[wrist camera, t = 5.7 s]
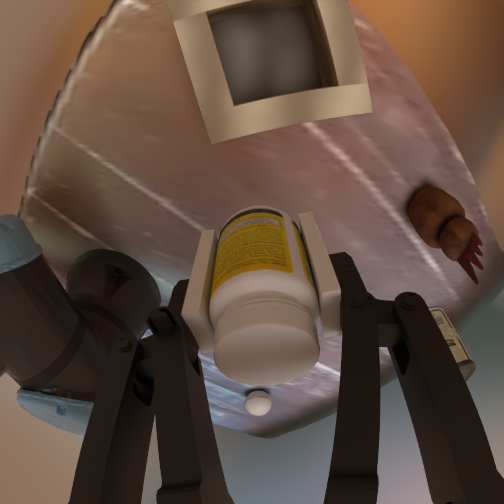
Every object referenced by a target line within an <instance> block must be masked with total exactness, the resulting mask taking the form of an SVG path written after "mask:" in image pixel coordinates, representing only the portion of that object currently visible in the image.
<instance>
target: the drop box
mask: <svg viewBox="0 0 504 504" xmlns="http://www.w3.org/2000/svg"><path fill="white" fill-rule="evenodd" d="M167 2H168V6H169V9H170V12H171V16H172V19H173V22H174V26H175V29H176V32H177V35H178V39H179V42H180V45H181V49H182V52H183V55H184V58H185V62H186V65H187V68H188V71H189V75H190V78H191V81H192V84H193V88H194V91H195V94H196V97H197V101H198V104H199V107H200V110H201V113H202V117H203V120H204V123H205V126H206V130H207V133H208V136H209V139H210V142H211V145H212V144H216V143H219V142H223V141H227V140H230V139H234V138H238V137H242V136H246V135H250V134H254V133H258V132H262V131H267V130H271V129H276V128H280V127H285V126H290V125H295V124H300V123H305V122H311V121H316V120H322V119H328V118H334V117H341V116H348V115H355V114H363V113H371V112H372V106H371V100H370V94H369V88H368V82H367V77H366V72H365V67H364V62H363V57H362V53H361V49H360V44H359V40H358V36H357V32H356V28H355V25H354V21H353V17H352V14H351V10H350V7H349V4H348V1H347V0H167Z"/></svg>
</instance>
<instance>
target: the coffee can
mask: <svg viewBox="0 0 504 504" xmlns="http://www.w3.org/2000/svg"><path fill="white" fill-rule="evenodd" d="M429 310H430V312H431V313H432V315H433V317H434V319H435V321H436V323H437V324H438V326H439V328H440V330H441V332H442V334H443V336H444V338H445V340H446V342H447V344H448V346H449V348H450V350H451V352H452V354H453V356H454V358H455V360H456V362H457V364H458V366H459V369H460V371H461V373H462V375H463V377H464V380H465V382H466V381H467V380H468V379H469V378H470V377H471V376H472V374H473V373H474V371H475V369H476V365H475V363H474V362H473V361H472V359H471V357H470V355H469V353H468V351H467V350H466V348H465V346H464V344H463V342H462V341H461V339H460V337H459V336H458V334H457V332H456V330H455V329H454V327H453V325H452V324H451V322H450V320H449V319H448V317H447V315H446V314H445V311H444V310H443V309H442V308H440V307H432V308H429Z"/></svg>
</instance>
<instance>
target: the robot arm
mask: <svg viewBox="0 0 504 504" xmlns="http://www.w3.org/2000/svg"><path fill="white" fill-rule="evenodd" d="M298 216H299V223H300V230H301V237H302V240H303V244H304V247H305V251H306V254H307V258H308V261H309V265H310V269H311V273H312V276H313V280H314V284H315V288H316V291H317V295H318V300H319V318H320V322H321V327H322V331H323V336H324V338H325V337H330V336H335V335H340V334H341V331H342V334H343V335H342V357H341V374H340V387H339V399H338V409H337V420H336V428H335V436H334V444H333V452H332V458H331V465H330V472H329V477H328V483H327V489H326V494H325V499H324V504H376V502H377V494H378V484H379V482H378V475H377V464H378V451H379V432H380V359H379V347H387V348H388V350H389V353H390V356H391V359H392V361H393V364H394V367H395V370H396V373H397V376H398V379H399V382H400V385H401V388H402V390H403V394H404V397H405V400H406V403H407V406H408V410H409V413H410V416H411V420H412V423H413V427H414V430H415V434H416V437H417V441H418V445H419V448H420V452H421V456H422V460H423V465H424V469H425V473H426V478H427V482H428V487H429V491H430V495H431V498H432V501H433V504H504V479H503V477H502V476H501V475H500V473H499V472H498V471H497V469H496V465H495V462H494V458H493V455H492V452H491V449H490V446H489V442H488V440H487V436H486V433H485V431H484V428H483V425H482V422H481V419H480V417H479V414H478V411H477V409H476V406H475V404H474V401H473V399H472V397H471V394H470V392H469V389H468V387H467V384H466V382H465V380H464V377H463V375H462V373H461V371H460V369H459V366H458V364H457V362H456V360H455V358H454V356H453V354H452V352H451V350H450V348H449V346H448V344H447V342H446V340H445V338H444V336H443V334H442V332H441V330H440V328H439V326H438V324H437V323H436V321H435V319H434V317H433V315H432V313H431V312H430V310H429V308H428V306H427V305H426V303H425V301H424V299H423V298H422V297H421V296H420V295H418V294H416V293H413V292H403V293H401V294H399V295H398V296H397V297H396V298H395V301H386V300H379V299H376V298H374V296H373V295H372V294H370V293H369V292H367V290H366V288H365V286H364V283H363V281H362V279H361V277H360V275H359V272H358V271H357V268H356V266H355V264H354V261H353V259H352V257H351V256H349V255H348V254H347V253H345V252H341V253H335V254H330V255H328V253H327V250H326V247H325V245H324V242H323V239H322V237H321V234H320V232H319V229H318V227H317V224H316V222H315V219H314V217H313V214H312V212H305V213H300V214H298ZM217 248H218V237H217V234H216V231H215V229H213V230H207V231H202V235H201V238H200V242H199V246H198V249H197V253H196V257H195V261H194V264H193V268H192V272H191V276H190V279H186V280H180V281H179V282H178V283H177V284H176V285H175V287H174V288H173V291H172V296H171V298H170V302H169V305H168V307H166V306H163V307H160V293H159V289H158V287H157V284H156V282H155V281H154V279H153V278H152V276H151V275H150V274H149V273H148V272H147V270H146V269H145V268H143V267H142V266H141V265H140V264H139V263H137V262H136V261H134V260H133V259H131V258H129V257H128V256H125V255H123V254H121V253H118V252H114V251H110V250H93V251H89V252H87V253H85V254H83V255H82V256H80V257H79V258H78V259H77V261H76V262H75V264H74V265H73V266H72V268H71V269H70V271H69V274H68V277H67V284H66V289H64V288H63V286H62V285H61V283H60V282H59V280H58V278H57V277H56V275H55V274H54V272H53V271H52V269H51V267H50V266H49V264H48V262H47V261H46V259H45V257H44V256H43V254H42V248H41V247H40V246H39V245H38V244H37V243H36V242H35V240H34V239H33V237H32V235H31V234H30V232H29V230H28V229H27V227H26V225H25V223H24V222H23V221H22V219H21V218H19V217H18V216H16V215H13V214H6V215H2V216H0V377H1V376H2V375H3V374H4V373H7V374H8V375H9V376H10V377H12V378H13V379H14V380H15V381H16V382H17V383H18V384H19V385H20V386H21V388H20V389H19V390H18V391H17V394H18V396H17V401H18V403H19V404H20V406H21V407H22V408H23V409H24V410H26V411H27V412H28V413H30V414H32V415H33V416H35V417H37V418H39V419H40V420H42V421H44V422H46V423H48V424H50V425H53V426H55V427H58V428H60V429H63V430H66V431H69V432H72V433H75V434H79V435H84V440H83V443H82V447H81V451H80V455H79V459H78V463H77V468H76V472H75V477H74V482H73V486H72V491H71V496H70V501H69V503H68V504H141V499H142V491H143V483H144V477H145V470H146V463H147V457H148V451H149V445H150V439H151V433H152V428H153V422H154V416H155V415H156V429H157V440H158V452H159V460H160V470H161V476H162V486H161V488H160V489H159V490H158V491H157V495H156V499H157V504H234V502H233V500H232V498H231V497H230V495H229V493H228V490H227V486H226V482H225V479H224V474H223V471H222V466H221V462H220V457H219V453H218V448H217V444H216V439H215V435H214V430H213V425H212V420H211V415H210V410H209V405H208V399H207V394H206V388H205V383H204V377H203V371H202V365H201V361H200V358H199V357H198V349H199V348H200V350H201V352H202V354H209V353H214V333H215V329H214V328H213V326H212V324H211V321H210V316H209V303H210V296H211V288H212V281H213V275H214V268H215V261H216V255H217ZM149 328H150V330H151V332H152V333H153V335H151V336H149V337H146V338H143V339H141V338H142V336H143V335H144V334H145V332H146V331H147V329H149Z"/></svg>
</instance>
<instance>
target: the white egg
mask: <svg viewBox="0 0 504 504" xmlns="http://www.w3.org/2000/svg"><path fill="white" fill-rule="evenodd" d="M239 398H240V397H239ZM243 399H244V398H243ZM271 404H272V401H271V398H270V396H269V395H268V394H267V393H265V392H264V391H253V392H251V393H250V394H249V395H248V396H247V398H246V400H245V406H246V409H247V410H248V412H250V413H251V414H253V415H257V416H260V415H264V414H266V413H267V412H268V411H269V410H270V408H271Z"/></svg>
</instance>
